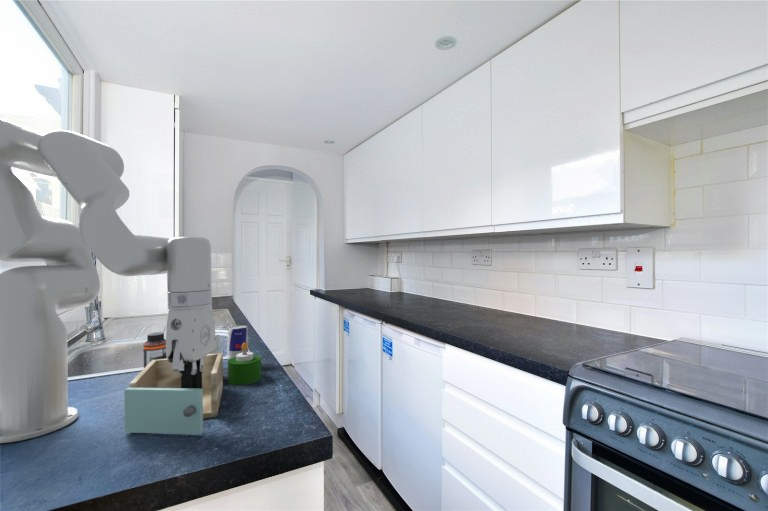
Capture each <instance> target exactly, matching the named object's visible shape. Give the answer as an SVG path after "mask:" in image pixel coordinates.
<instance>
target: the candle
mask: <svg viewBox="0 0 768 511" xmlns="http://www.w3.org/2000/svg"><path fill="white" fill-rule="evenodd" d="M261 379H262V357H261V355H258V354H254V352H251V351H250V352H249V351H248V352H247V344H246V343H243V344H242V353H239V354H237V355H236V357H233V358H231V359H229V358H228V360H227V383H228V384H229V385H232V386H244V385H250V384H254V383H256V382H259V381H260V380H261Z"/></svg>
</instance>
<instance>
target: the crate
mask: <svg viewBox="0 0 768 511" xmlns="http://www.w3.org/2000/svg"><path fill="white" fill-rule="evenodd" d="M223 360H224V354H223V352H220V353H216V354H207V356H206V357H205V358H204V360H203V370H202V389H203V420H204V419H209V418H216V417H217V416H218V413H219V408H220V403H221V398H222V395H223V391H224V365H223V364H224V361H223ZM128 386H129V387H131V388H181V375H179V371H172V363H170V362H168V360H167V359H157V360H152V361H151V362H150V363H149V364H148V365H147V366H146V367H145V368H144V367H143V369H142V370H141V371H140V372H139V373H138V374H137V375H136V376H135V377H134V378H133V379H132V380H131V381H130V382H129V384H128ZM129 387H128V388H129Z"/></svg>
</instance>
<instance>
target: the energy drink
mask: <svg viewBox="0 0 768 511" xmlns="http://www.w3.org/2000/svg"><path fill="white" fill-rule="evenodd" d="M248 328H249V327H248V326H247V325H243V324H242V325H241V324H239V325H233V326H229V328H228V332H227V333H228V360H229V359H231V358H233V357H236V355H237V354H239V353H242V344H243V343H246V344H247V352H249V333H248V332H249V329H248Z"/></svg>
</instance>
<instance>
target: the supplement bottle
mask: <svg viewBox="0 0 768 511" xmlns="http://www.w3.org/2000/svg"><path fill="white" fill-rule="evenodd" d="M146 337H147V338H146V339H147V340H146V341H145V342H144V343H143V349H142V350H143V351H142V352H143V355H142V356H143V369H144V368H145V367H146V366H147V365H148V364H149V363H150V362H151V361H152V360H157V359H167V356H166V338H165V332H163V331H157V332H150V333H148V334H147V336H146Z"/></svg>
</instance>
